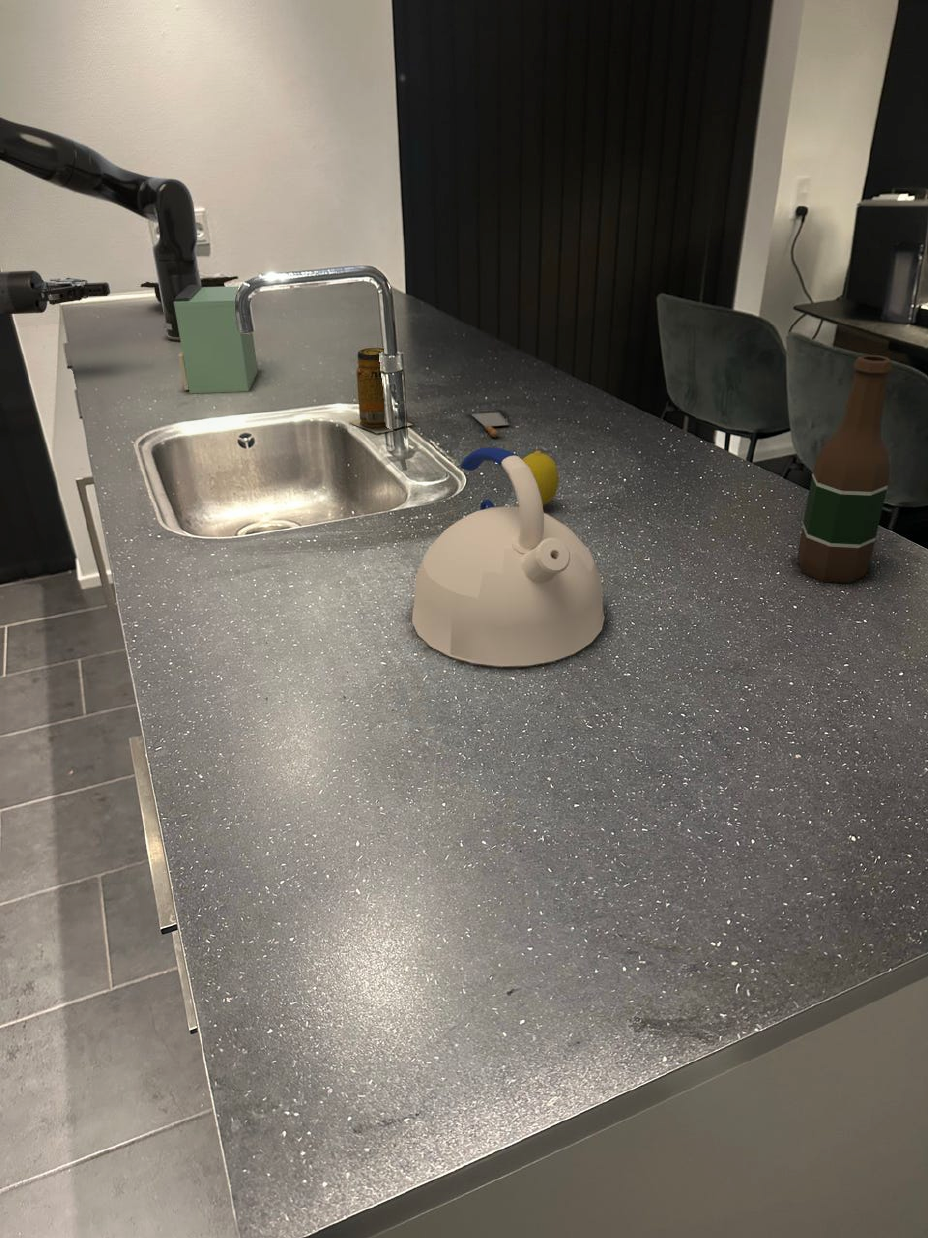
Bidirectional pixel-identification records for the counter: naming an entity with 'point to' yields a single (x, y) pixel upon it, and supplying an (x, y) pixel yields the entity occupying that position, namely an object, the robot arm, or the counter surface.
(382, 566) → the counter surface
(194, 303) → the green open box
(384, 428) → the condiment
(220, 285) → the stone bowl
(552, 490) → the lemon
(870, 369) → the beer bottle
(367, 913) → the counter surface
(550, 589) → the kettle
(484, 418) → the cleaver
